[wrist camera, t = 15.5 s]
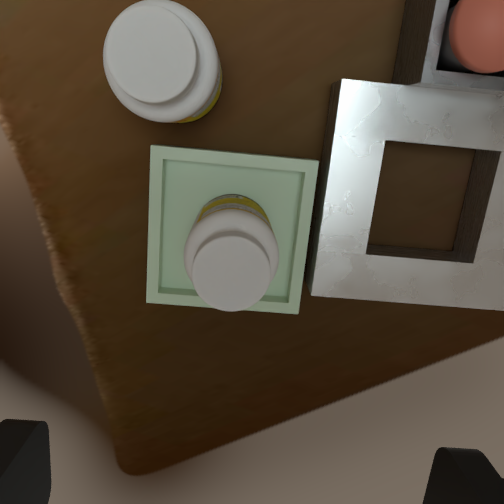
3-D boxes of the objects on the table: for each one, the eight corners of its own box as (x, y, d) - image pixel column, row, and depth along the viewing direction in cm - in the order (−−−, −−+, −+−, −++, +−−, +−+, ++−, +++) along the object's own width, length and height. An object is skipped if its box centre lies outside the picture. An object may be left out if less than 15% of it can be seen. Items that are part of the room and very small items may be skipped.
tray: (314, 159, 30) (318, 161, 28) (295, 304, 33) (298, 314, 31) (155, 144, 29) (150, 145, 27) (151, 293, 32) (146, 302, 30)
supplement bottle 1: (121, 83, 28) (58, 59, 18) (174, 13, 27) (137, -52, 17) (187, 141, 29) (160, 148, 19) (240, 76, 28) (241, 48, 18)
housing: (559, 7, 27) (626, -19, 23) (483, 295, 33) (524, 323, 28) (345, -18, 27) (368, -51, 22) (304, 280, 32) (316, 307, 27)
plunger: (495, 6, 26) (560, -25, 21) (478, 85, 28) (534, 75, 22) (423, -3, 26) (469, -36, 21) (408, 78, 27) (449, 66, 22)
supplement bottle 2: (241, 280, 31) (242, 344, 22) (180, 238, 30) (153, 287, 21) (286, 221, 30) (306, 263, 21) (223, 176, 29) (215, 198, 20)
